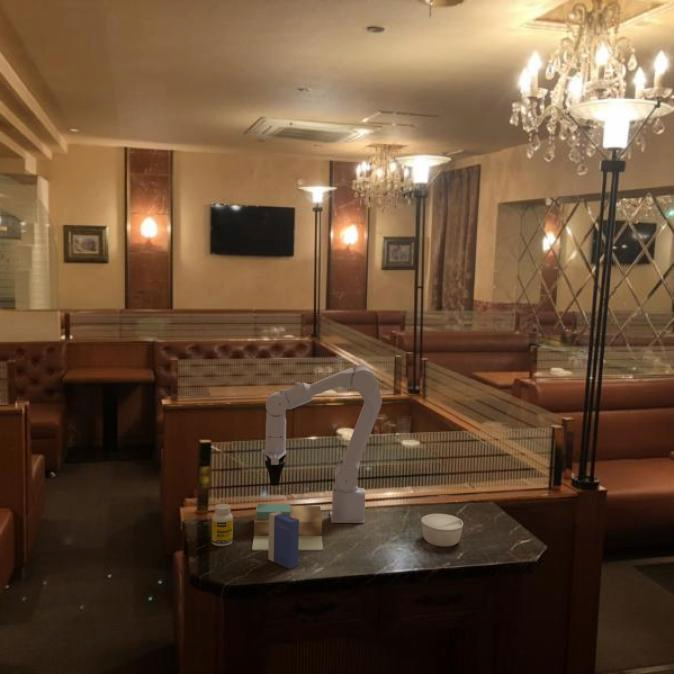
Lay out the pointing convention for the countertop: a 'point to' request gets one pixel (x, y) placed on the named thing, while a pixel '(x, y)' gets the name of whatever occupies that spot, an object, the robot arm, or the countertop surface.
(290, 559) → the walkman
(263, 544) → the mat
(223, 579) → the countertop surface
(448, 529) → the ramekin
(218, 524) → the supplement bottle
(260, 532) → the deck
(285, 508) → the sage green box
